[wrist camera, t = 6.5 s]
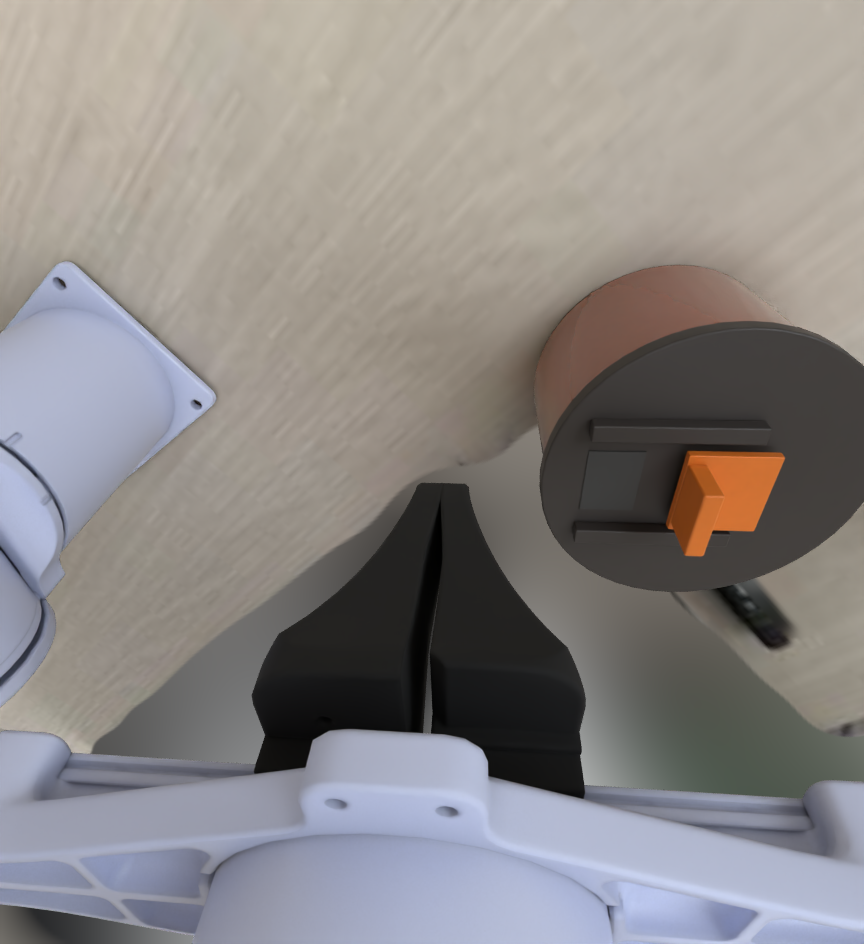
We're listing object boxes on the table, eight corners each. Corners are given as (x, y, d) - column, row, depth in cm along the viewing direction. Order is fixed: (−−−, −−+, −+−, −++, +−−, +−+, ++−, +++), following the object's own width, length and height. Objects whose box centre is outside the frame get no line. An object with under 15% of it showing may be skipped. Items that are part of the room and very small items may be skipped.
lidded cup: (519, 478, 27) (530, 597, 21) (537, 257, 21) (560, 334, 15) (739, 482, 27) (818, 608, 20) (826, 255, 20) (978, 335, 14)
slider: (665, 523, 19) (681, 563, 17) (686, 450, 17) (707, 488, 15) (750, 526, 19) (775, 567, 17) (781, 452, 17) (812, 490, 15)
